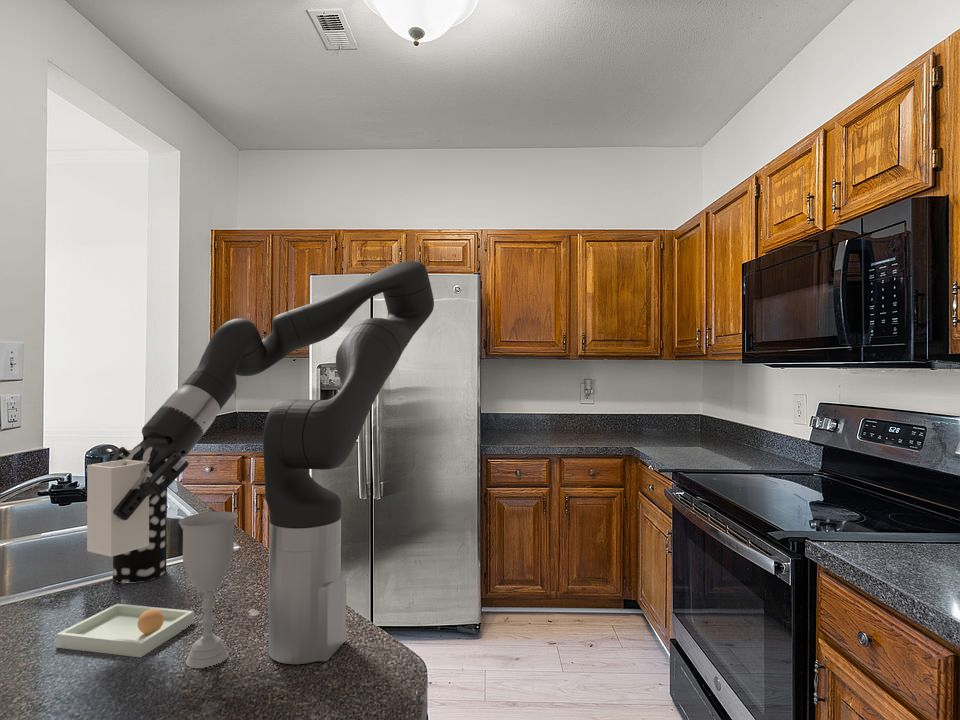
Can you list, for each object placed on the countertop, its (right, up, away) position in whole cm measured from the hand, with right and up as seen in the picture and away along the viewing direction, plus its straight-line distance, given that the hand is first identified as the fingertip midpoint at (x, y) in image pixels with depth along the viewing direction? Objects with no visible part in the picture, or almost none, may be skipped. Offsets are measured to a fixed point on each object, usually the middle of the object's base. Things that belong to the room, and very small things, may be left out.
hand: (105, 514), depth 81 cm
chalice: (+17, -17, -6) cm, 25 cm away
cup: (+1, -5, +2) cm, 6 cm away
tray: (+3, -17, +1) cm, 17 cm away
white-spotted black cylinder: (-9, -18, +24) cm, 31 cm away
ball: (+6, -15, 0) cm, 16 cm away
